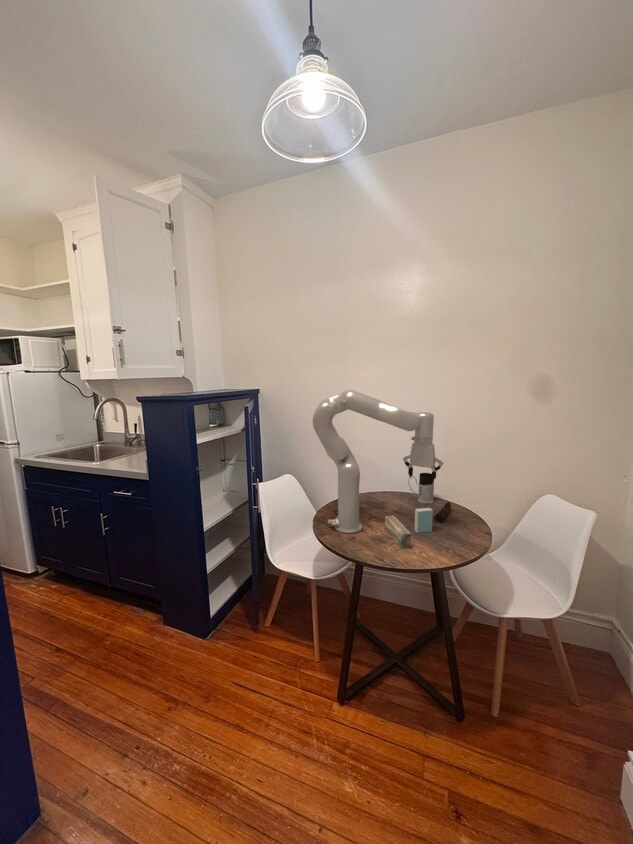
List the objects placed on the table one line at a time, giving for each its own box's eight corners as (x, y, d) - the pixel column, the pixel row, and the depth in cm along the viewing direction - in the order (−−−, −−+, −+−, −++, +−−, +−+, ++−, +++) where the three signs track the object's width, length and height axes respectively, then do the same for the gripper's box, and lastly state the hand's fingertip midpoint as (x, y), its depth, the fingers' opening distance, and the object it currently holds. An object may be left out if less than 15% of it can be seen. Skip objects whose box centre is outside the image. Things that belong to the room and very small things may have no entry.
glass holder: (436, 503, 174) (437, 477, 173) (409, 503, 176) (410, 476, 174) (431, 498, 183) (432, 472, 181) (406, 497, 184) (406, 472, 182)
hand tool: (442, 523, 151) (443, 514, 150) (434, 521, 154) (434, 512, 153) (455, 510, 166) (455, 502, 165) (447, 509, 168) (447, 500, 168)
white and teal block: (417, 533, 142) (418, 511, 140) (414, 530, 144) (415, 508, 143) (432, 531, 143) (433, 510, 141) (429, 529, 145) (429, 507, 144)
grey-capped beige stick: (401, 548, 128) (401, 534, 128) (384, 528, 146) (385, 516, 145) (410, 548, 129) (411, 533, 128) (393, 528, 147) (393, 515, 146)
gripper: (401, 440, 142) (400, 477, 145) (442, 444, 133) (440, 483, 136) (406, 437, 149) (404, 473, 151) (445, 441, 140) (443, 479, 142)
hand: (421, 478), depth 143 cm, fingers open, 9 cm apart
